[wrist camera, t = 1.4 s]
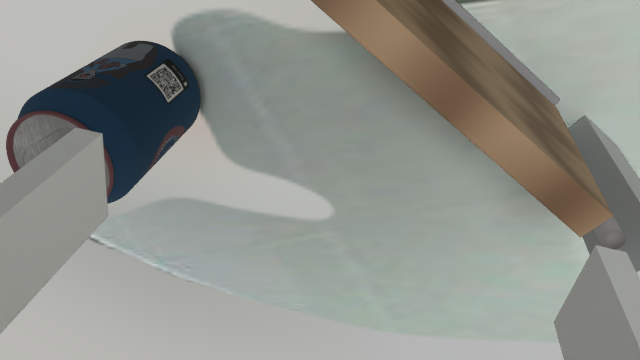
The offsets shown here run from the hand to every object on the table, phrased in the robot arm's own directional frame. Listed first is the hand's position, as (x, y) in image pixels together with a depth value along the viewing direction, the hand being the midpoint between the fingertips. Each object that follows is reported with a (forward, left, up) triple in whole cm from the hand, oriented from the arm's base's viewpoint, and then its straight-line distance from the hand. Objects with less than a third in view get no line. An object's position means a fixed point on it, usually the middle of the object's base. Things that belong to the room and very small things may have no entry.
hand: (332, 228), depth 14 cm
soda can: (-9, -13, -22) cm, 27 cm away
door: (+1, +3, -21) cm, 21 cm away
